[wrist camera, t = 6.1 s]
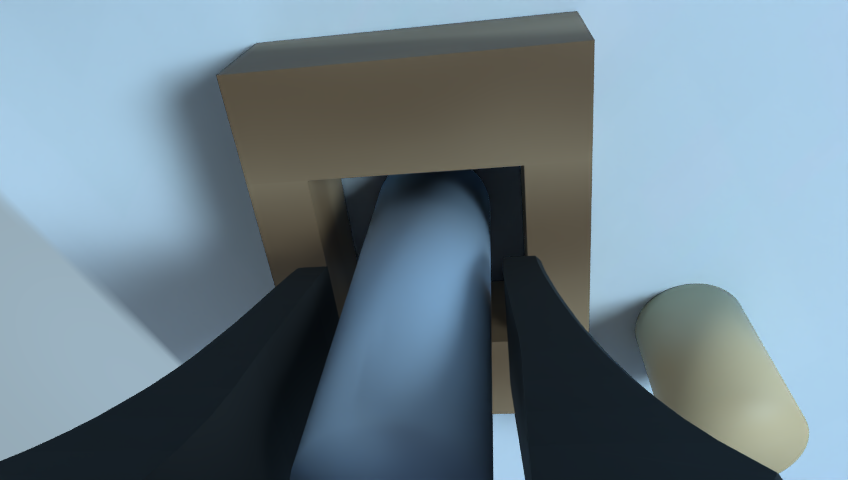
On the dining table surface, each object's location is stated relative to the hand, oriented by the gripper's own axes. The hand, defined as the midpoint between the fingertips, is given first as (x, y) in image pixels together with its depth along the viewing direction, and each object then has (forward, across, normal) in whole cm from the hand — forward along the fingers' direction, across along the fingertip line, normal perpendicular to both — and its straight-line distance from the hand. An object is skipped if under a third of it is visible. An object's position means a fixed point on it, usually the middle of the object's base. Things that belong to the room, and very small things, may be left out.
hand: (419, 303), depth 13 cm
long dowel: (+4, 0, 0) cm, 4 cm away
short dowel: (+4, -6, +4) cm, 9 cm away
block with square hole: (+4, 0, 0) cm, 4 cm away
